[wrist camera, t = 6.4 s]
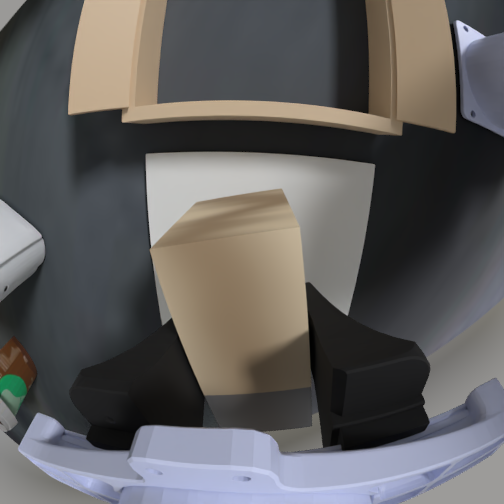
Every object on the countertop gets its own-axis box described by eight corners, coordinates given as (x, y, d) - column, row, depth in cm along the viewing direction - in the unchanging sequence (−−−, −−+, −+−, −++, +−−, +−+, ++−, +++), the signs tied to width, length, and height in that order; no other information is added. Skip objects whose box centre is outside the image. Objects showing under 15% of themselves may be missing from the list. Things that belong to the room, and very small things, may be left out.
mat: (372, 163, 14) (375, 164, 14) (337, 342, 19) (338, 345, 19) (148, 153, 15) (145, 154, 14) (166, 334, 20) (164, 338, 19)
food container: (36, 393, 27) (9, 439, 17) (7, 365, 25) (-24, 408, 16) (52, 366, 23) (13, 427, 14) (15, 330, 21) (-31, 384, 12)
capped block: (281, 188, 12) (299, 226, 7) (299, 342, 16) (311, 426, 10) (196, 201, 13) (149, 249, 7) (232, 349, 16) (222, 432, 10)
